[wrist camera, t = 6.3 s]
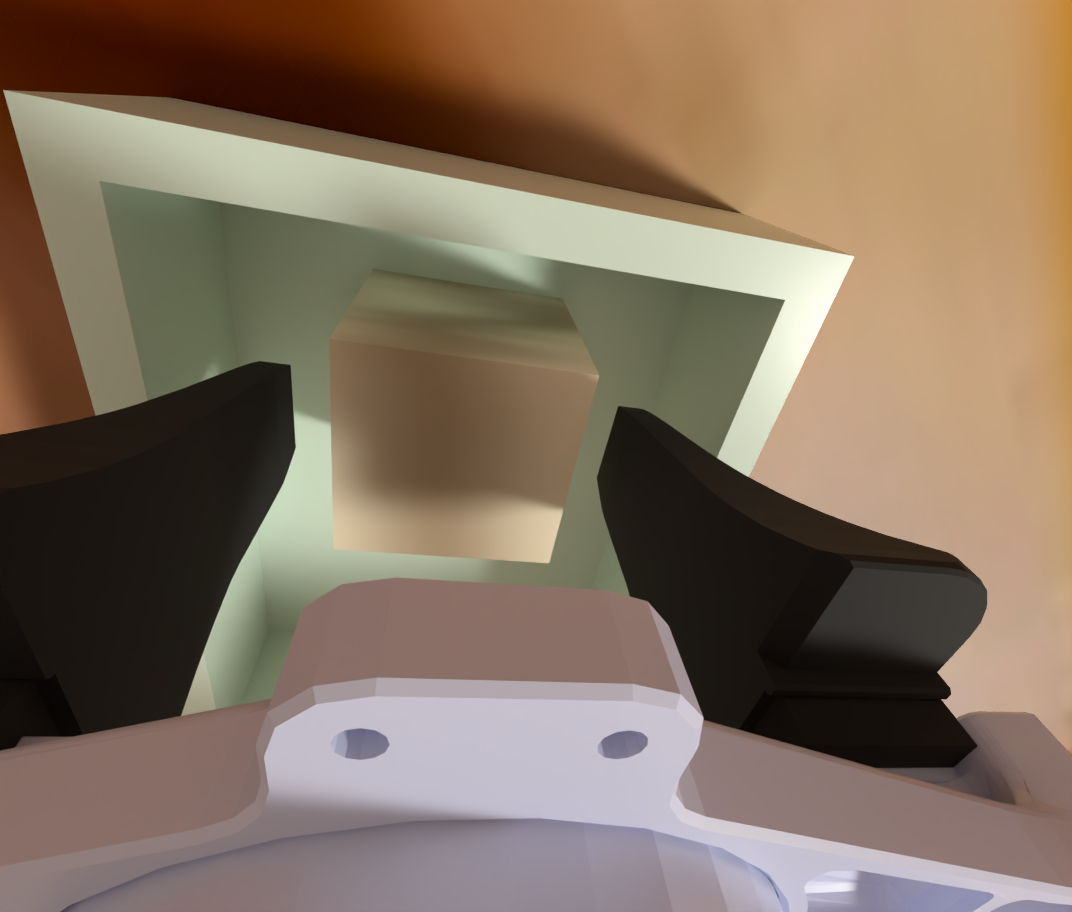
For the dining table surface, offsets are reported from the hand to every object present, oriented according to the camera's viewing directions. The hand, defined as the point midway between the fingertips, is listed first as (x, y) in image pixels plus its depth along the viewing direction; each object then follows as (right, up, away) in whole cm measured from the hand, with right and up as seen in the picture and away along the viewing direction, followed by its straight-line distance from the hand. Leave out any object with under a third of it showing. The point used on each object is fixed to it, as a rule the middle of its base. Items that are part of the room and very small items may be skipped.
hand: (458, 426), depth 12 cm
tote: (-1, -1, +6) cm, 6 cm away
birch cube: (0, +2, +3) cm, 4 cm away
